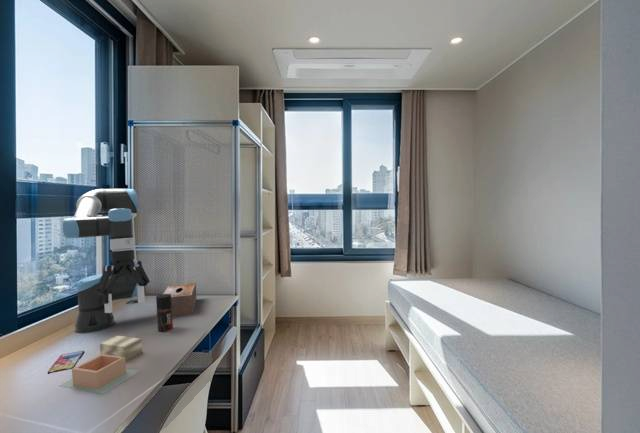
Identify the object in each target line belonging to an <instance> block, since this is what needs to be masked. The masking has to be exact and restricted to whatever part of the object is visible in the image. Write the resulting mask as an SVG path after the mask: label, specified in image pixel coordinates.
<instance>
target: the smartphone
mask: <svg viewBox="0 0 640 433" xmlns="http://www.w3.org/2000/svg"><path fill="white" fill-rule="evenodd" d="M84 354H85V351H84V350H79V351H73V352H68V353H64V354H61V355H59V357H58V358H57V359H56V360H55V362H54V363H53V365H51V367H50V368H49V369H48V371H47V374H48V375H49V374H53V373H58V372H62V371H67V370H68V371H69V370H72V369H73V368H75V367H76V365H77V364H78V362H79V361H80V359H82V357H83V355H84Z"/></svg>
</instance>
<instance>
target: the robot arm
mask: <svg viewBox="0 0 640 433" xmlns="http://www.w3.org/2000/svg"><path fill="white" fill-rule="evenodd" d="M75 206H76V209H75V210H76V211H75V213H74V215H73V217H70V218H69V217H68V218H65V219H63V221H62V233H63V237H64V238H65V239H82V238H83V239H84V238H92V237H93V238H94V237H109V250H111V252H110V261H111V263H112V265H111V264H110V265H109V264H107V265H106V264H105V265H104V266H103V269H102V270H103V271H102V273H98V274H94V275H90V276H87V277H84V278H81V279H80V280H79V281H77V283H76V293H77V305H78V306H77V307H78V315H77V317H76V321H75V324H74V331H75V332H77V333H92V332H96V331H101V330H103V329H106V328H110V327H111V326H113V325H115V316H114V314H113V302H115V301H117V302H118V301H123V300H129V299H131V300H132V299H134V298H137V304H145V303H146V297H145V294H146V286H148V284H149V283H150V279H149V277H148V275H147V273H146V272H145V269H144V268H143V264H142V261H141V260H137V252H136V250H137V248H136V236H135V235H136V234H135V233H136V232H135V217H137V215H138V213H139V212H140V211H141V210H140V209H141V208H140V202H139V198H138V194H137V191H136V190H135V189H134V188H96V189H92V190H89V191H87V192H85V193H84V194H82V195H81V196H79V198H77V201H76V204H75ZM100 213H101V214H103V213H104V214H106V213H108V216H98V214H100Z"/></svg>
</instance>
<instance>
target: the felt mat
mask: <svg viewBox="0 0 640 433" xmlns="http://www.w3.org/2000/svg"><path fill="white" fill-rule="evenodd" d="M139 372H140V371H139V370H135V369H127V368H126V372H125V373H124V374H122V375H120V376H119V377H117V378H115V379H114V380H112V381H110V382H109V383H107V384H105V385H104V386H102V387H100V388H99V389H94V388H88V387H82V386H77V385H73V379H72V378H70V379H68V380H67V381H65V382H62V383H61V384H59V385H58V387H63V388H68V389H74V390H78V391H84V392H89V393H95V394H101V395H104V394H106V393H107V392H109V391H111V390H112V389H113V388H115V387H116V386H117V387H118V386H119V385H120V384H121V383H123V382H125V381H126V380H127V379H130V378H131V377H133V376H134V375H136V374H137V373H139Z"/></svg>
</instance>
